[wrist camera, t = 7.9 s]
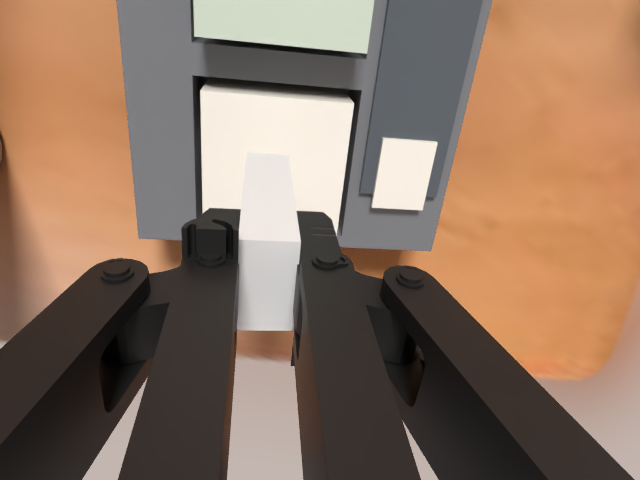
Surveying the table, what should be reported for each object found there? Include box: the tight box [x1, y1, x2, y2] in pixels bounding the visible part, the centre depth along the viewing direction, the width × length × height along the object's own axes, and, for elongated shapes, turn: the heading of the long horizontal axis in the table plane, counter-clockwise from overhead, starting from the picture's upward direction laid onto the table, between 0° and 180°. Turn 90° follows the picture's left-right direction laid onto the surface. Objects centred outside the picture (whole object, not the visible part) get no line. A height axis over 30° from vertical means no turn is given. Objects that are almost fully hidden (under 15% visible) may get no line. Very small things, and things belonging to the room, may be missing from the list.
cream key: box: [200, 77, 354, 236], centre depth 21 cm, size 6×6×3 cm
